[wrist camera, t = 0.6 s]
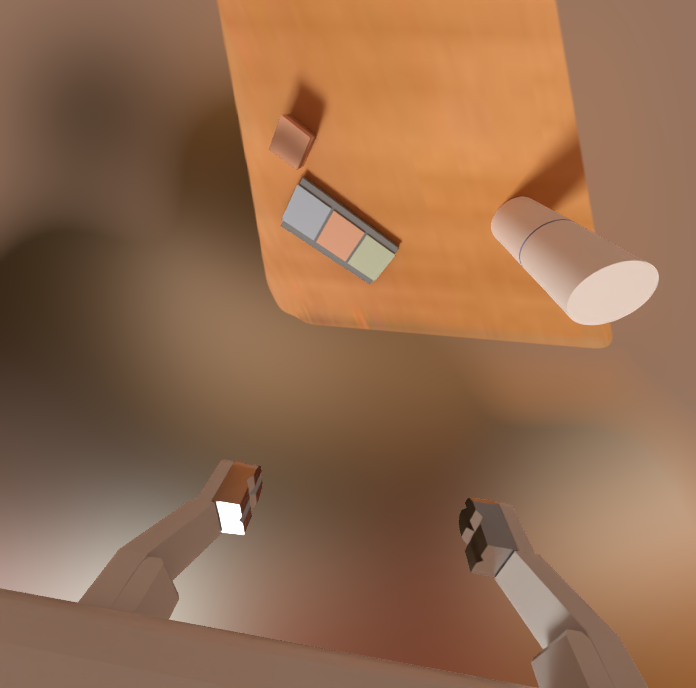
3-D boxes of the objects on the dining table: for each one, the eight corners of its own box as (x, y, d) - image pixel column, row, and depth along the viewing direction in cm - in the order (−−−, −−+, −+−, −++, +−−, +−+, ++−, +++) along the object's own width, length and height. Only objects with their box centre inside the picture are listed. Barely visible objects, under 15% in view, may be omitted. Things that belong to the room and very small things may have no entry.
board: (302, 175, 43) (300, 177, 42) (399, 246, 49) (399, 249, 48) (281, 222, 49) (279, 225, 48) (371, 282, 55) (370, 285, 53)
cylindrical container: (503, 193, 42) (600, 255, 23) (547, 199, 42) (680, 266, 23) (483, 238, 47) (551, 320, 28) (523, 244, 47) (618, 329, 28)
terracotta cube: (290, 114, 39) (281, 114, 35) (316, 136, 40) (310, 137, 36) (278, 146, 41) (269, 149, 38) (303, 165, 43) (296, 170, 39)
